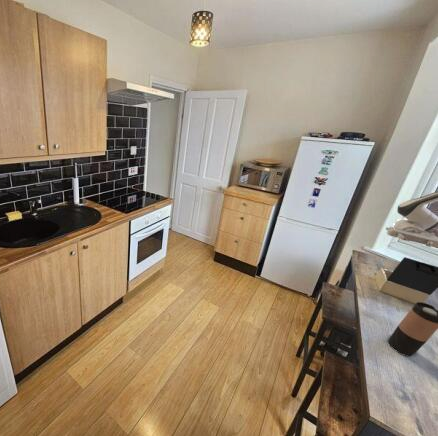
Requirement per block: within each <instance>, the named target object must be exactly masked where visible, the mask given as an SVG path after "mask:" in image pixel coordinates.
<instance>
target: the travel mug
mask: <svg viewBox="0 0 438 436" xmlns="http://www.w3.org/2000/svg"><path fill="white" fill-rule="evenodd" d="M437 330H438V309H437V308H435V306H434V305H431V304H429V303H426V302H424V303H422V302H417V303H416V304H415V303H414V305H413V306H412V307H411V308H410V310H409V311H408V312H407V314H406V315H405V316H404V318H403V319H402V320H401V321H400V322H399V324H398V325H397V327H396V328H395V329H394V331H393V332H392V334H391V335H390V336H389V337H388V339H387V344H388V343H389V344H390V345H389V344H388V345H389V347H391V346H392V347H393V348H394V349H395V350H397V351H399V352H400V353H402V354H405V355H408V356H407V357H413V356H414V355H415V354H416V353H417V352H418V351H419V350H420V349H421V348H422V347H423V346H424V345H425V344H426V343H427V342H428V341H429V339H430V338H431V337H432V336H433V335H434V333H436V331H437ZM392 347H391V348H392ZM393 348H392V349H393ZM394 349H393V350H394ZM395 350H394V351H395ZM397 351H396V352H397ZM399 352H398V353H399ZM400 353H399V354H400ZM402 354H401V355H402ZM405 355H404V356H405ZM412 355H413V356H412Z"/></svg>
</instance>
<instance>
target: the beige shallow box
mask: <svg viewBox="0 0 438 436" xmlns="http://www.w3.org/2000/svg"><path fill="white" fill-rule="evenodd" d="M393 271H394V270H390V269H387V268H383V267H380V268H379V269H378V271H377V273H376V274H375V276H374V279H375V281H376V285H377V289H378V291H379V292H382V293H384V294H387V295H390V296H392V297H395V298H399V299H401V300H404V301H407V302H409V303H412V304H414V305H415V304H416V303H417V302H422V303H426V301H427V299H429V297H430V295H429V294H426V293H423V292H420V291H417V290H414V289H411V288H408V287H405V286H402V285H399V284H396V283H393V282H390V281H387V278H388V277H389V276H390V274H391V273H392V272H393Z"/></svg>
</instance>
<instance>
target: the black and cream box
mask: <svg viewBox="0 0 438 436" xmlns="http://www.w3.org/2000/svg"><path fill="white" fill-rule="evenodd" d="M392 271H393V272H392V273H391V274H390V276H389V277H388V278H387V281H390V282H393V283H396V284H399V285H402V286H405V287H408V288H411V289H414V290H417V291H420V292H423V293H426V294H429V296H431V295H432V294H433V293H434V292H435V291H436V290H437V289H438V266H437V265H434V264H430V263H426V262H423V261H419V260H416V259H412V258H409V257H406V256H404V257H403V258H402V259H401V261H400V262H399V263H398V264H397V266H395V268H394V269H393V270H392Z"/></svg>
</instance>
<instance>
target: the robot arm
mask: <svg viewBox="0 0 438 436" xmlns="http://www.w3.org/2000/svg"><path fill="white" fill-rule="evenodd" d="M435 202H438V190H437V191H435V192H431V193H429V194H425V195H422V196H419V197H417V198H412V199H409V200H406V201H403V202H401V203H400V204H399V205H398V206H397V210H396V211H397V214H399V215H400V216H402V217H404V218H399V219H397V220H395V222H394V223H393V226H389V227H385V230H386V233H387V236H389V237H393V238H397V239H400V240H402V241H405V242H413V243H417V244H421V245H425V246H426V247H429V248H438V236H436V233H435V232H432V231H431V230H434V229H435V228H436V227H438V215H436V213H434V212H432V211H431V210H430V209H429V208H428V207H426V206H427V205H430V204H433V203H435Z"/></svg>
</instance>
